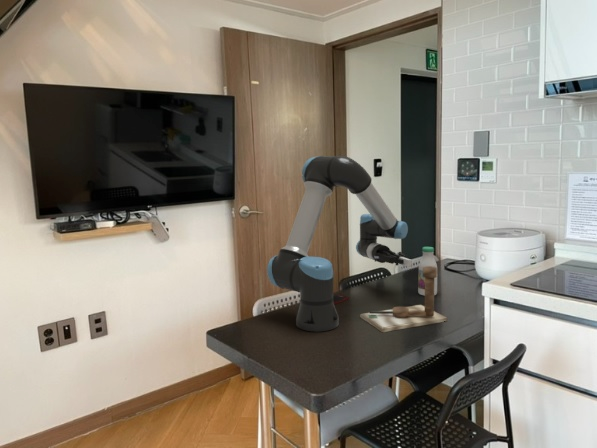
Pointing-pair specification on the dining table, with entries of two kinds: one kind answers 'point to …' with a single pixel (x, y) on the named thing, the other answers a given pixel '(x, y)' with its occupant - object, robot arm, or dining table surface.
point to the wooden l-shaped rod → (429, 276)
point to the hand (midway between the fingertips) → (410, 263)
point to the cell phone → (339, 298)
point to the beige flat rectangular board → (401, 320)
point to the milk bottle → (425, 261)
